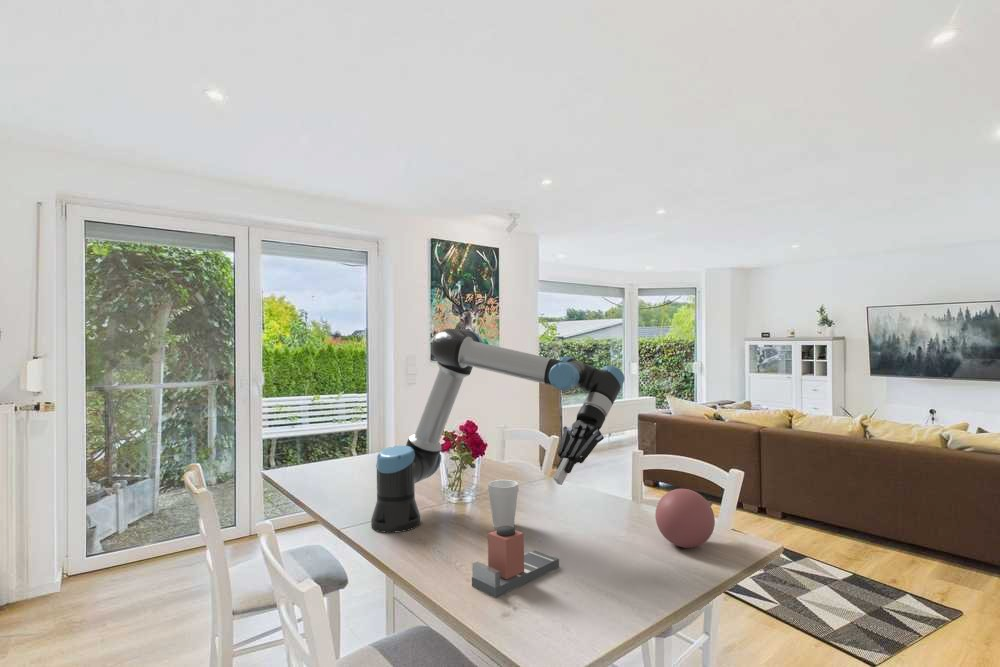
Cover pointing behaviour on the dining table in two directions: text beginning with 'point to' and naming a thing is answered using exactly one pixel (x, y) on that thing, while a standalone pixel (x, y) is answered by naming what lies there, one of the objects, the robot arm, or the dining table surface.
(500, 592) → the track
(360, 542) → the dining table surface
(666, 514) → the balloon
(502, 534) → the plug
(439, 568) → the dining table surface
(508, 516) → the foam cup
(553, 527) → the dining table surface
